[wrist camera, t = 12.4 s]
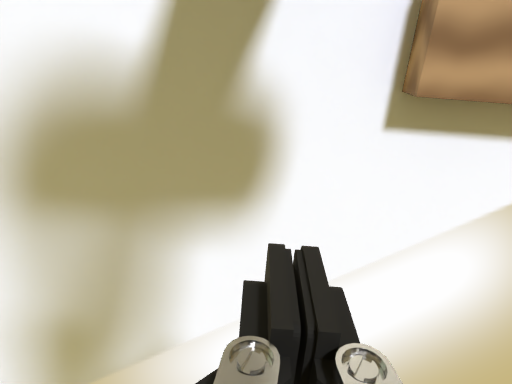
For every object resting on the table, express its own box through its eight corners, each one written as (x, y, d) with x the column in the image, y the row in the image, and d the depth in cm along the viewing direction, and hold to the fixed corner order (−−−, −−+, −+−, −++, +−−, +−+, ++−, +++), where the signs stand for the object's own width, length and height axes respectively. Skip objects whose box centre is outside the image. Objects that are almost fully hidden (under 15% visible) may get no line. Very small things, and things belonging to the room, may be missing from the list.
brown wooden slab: (430, -37, 36) (449, -46, 32) (594, -24, 36) (632, -31, 32) (402, 91, 40) (416, 96, 36) (548, 102, 40) (577, 109, 37)
